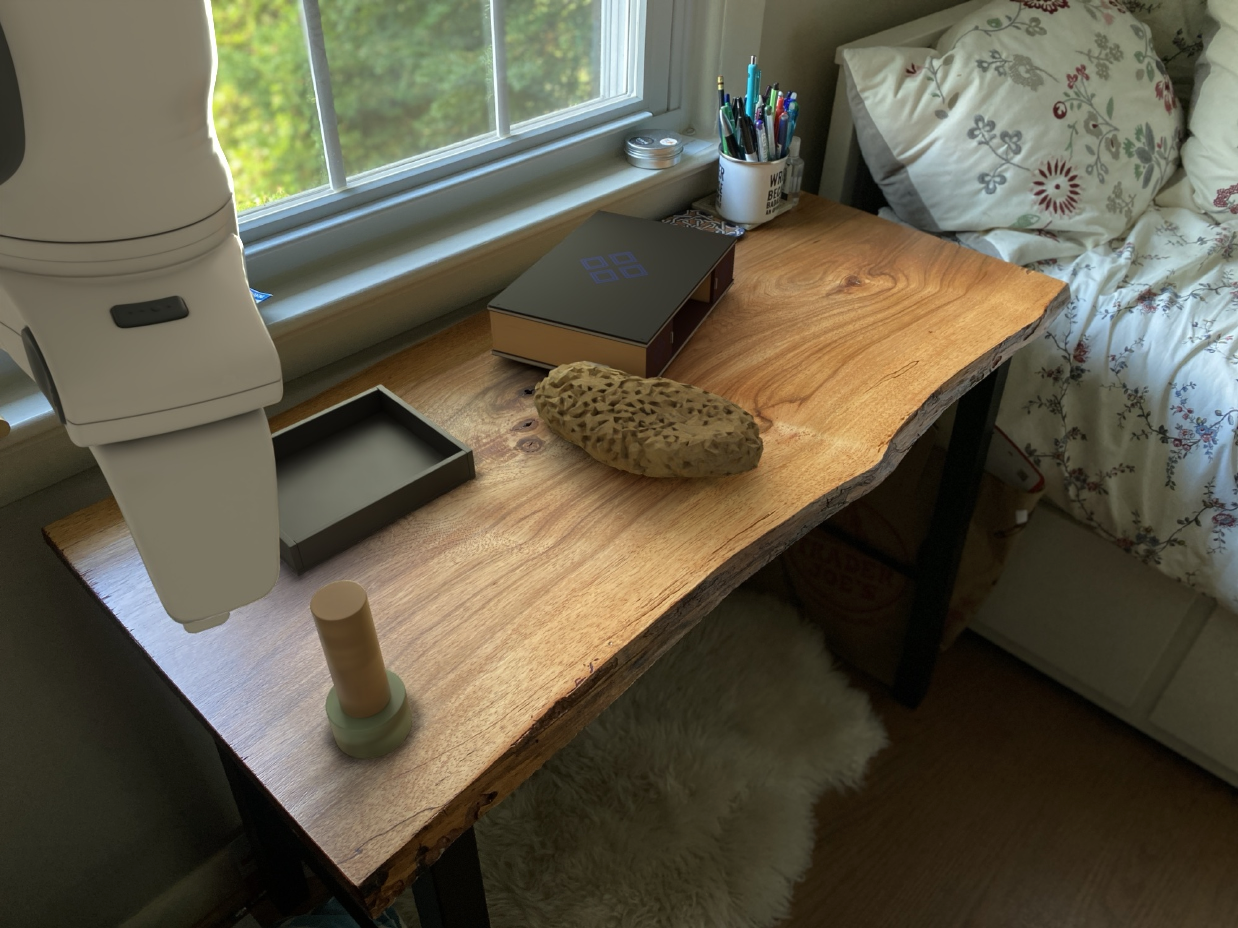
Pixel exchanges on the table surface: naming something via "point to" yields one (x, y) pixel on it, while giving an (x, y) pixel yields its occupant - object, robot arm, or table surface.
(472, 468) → the pan
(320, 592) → the tan cylinder
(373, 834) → the table surface
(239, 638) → the table surface
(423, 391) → the table surface
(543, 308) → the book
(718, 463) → the sponge
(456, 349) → the table surface
